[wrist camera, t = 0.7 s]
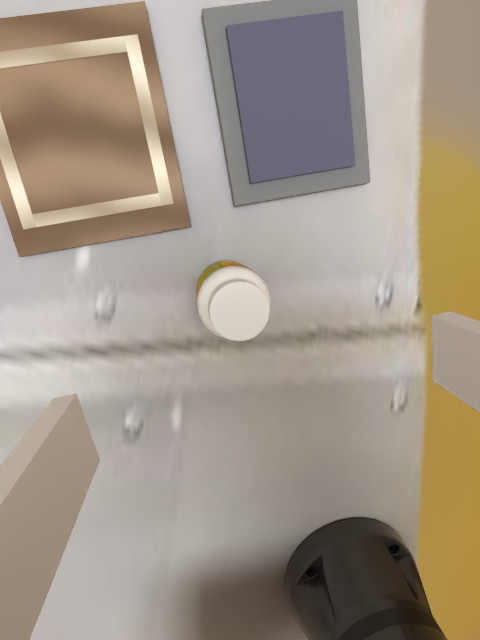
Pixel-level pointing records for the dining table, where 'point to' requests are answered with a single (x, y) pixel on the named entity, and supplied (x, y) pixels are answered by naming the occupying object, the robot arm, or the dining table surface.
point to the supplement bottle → (233, 301)
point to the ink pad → (288, 96)
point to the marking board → (85, 130)
